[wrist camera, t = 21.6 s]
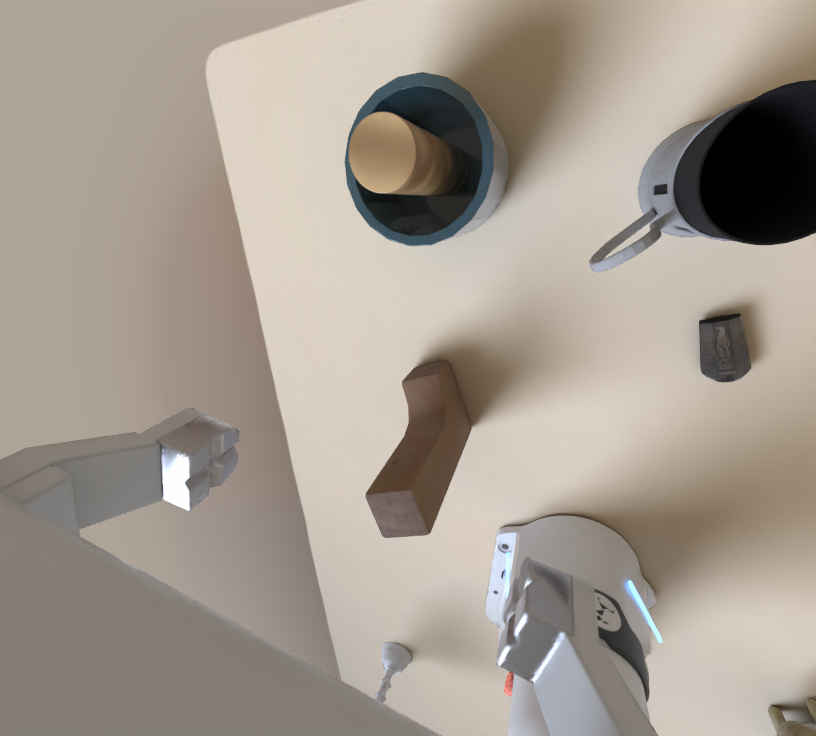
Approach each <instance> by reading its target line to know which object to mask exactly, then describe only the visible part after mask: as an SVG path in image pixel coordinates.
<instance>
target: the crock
mask: <svg viewBox="0 0 816 736" xmlns="http://www.w3.org/2000/svg"><path fill="white" fill-rule="evenodd" d="M376 112H390V113H393V114H395V115H397V116H399V117H401V118H403V119H405V120H407V121H409V122H411V123H412V124H414V125H416V126H418V127H420V128H422V129H424V130H426V131H428V132H429V133H431V134H433V135H435V136H437V137H439V138H441V139H443V140H444V141H446V142H448V143H450V144H452V145H454V146H456V147H458V148H459V149H460V150H461V151H463V153H464V154H465V156H466V158H467V160H468V164H469V174H468V178H467V181H466V183H465V185H464V186H463V188H462V189H461V190H460V191H459V192H457V193H456V194H454V195H451V196H446V197H444V196H424V195H404V194H385V193H375V192H372V191H370V190H368V189H366V188H365V187H364V186H362V185H361V184H360V183H359V181H358V180H357V179H356V177H355V176H354V174H353V171H352V169H351V166H350V162H349V144H350V140H351V136H352V134H353V132H354V130H355V128H356V127H357V125H358V124H359V123H360V122H361V121H362V120H363V119H364V118H365V117H367V116H368V115H370V114H373V113H376ZM345 167H346V176H347V185H348V188H349V191H350V193H351V196H352V198H353V201H354V203H355V206H356V208H357V210H358V211H359V213H360V214H361V215H362V217H363V218H364V219H365V220H366V222H367V223H368V224H369V226H370V227H371V228H373V229H374V230H375V231H377V232H378V233H380V234H381V235H382V236H384V237H385V238H387V239H389V240H391V241H394V242H397V243H401V244H404V245H407V246H423V245H433V244H436V243H439V242H442V241H445V240H448V239H451V238H454V237H457V236H460V235H462V234H465V233H467V232H470V231H472V230H474V229H475V228H477V227H478V226H480V225H481V224H482V223H483V222H485V221H486V220H487V219H488V218H489V217H490V215H491V214H492V213H493V212H494V211H495V209H496V208H497V206H498V205H499V203H500V201H501V199H502V197H503V194H504V191H505V189H506V184H507V180H508V173H509V160H508V152H507V148H506V144H505V142H504V139H503V137H502V134H501V132H500V131H499V129H498V128H497V126H496V125H495V124H494V122H493V121H492V119H491V118H490V117H489V115H488V114H487V113H486V112H485V111H484V109H483V108H482V107H481V106H480V105H479V103H478V102H477V101H476V100H475V99H474V97H473V96H472V95H471V94H470V93H469V92H468V91H467V90H465V89H464V88H462V87H461V86H459V85H458V84H457V83H455V82H454V81H452V80H451V79H449V78H447V77H443V76H438V75H434V74H429V73H424V72H423V73H422V72H421V73H416V74H411V75H405V76H400V77H397V78H395V79H394V80H392V81H390V82H389V83H387V84H386V85H384V86H382V87H381V88H379V89H377V90H376V91H375V92H374V94H373V95H372V96H371V97H370V98H369V100H368V101H367V102H366V103H365V104H364V105H363V107H362V108H361V109H360V111H359V112H358V115H357V117H356V119H355V121H354V124H353V126H352V128H351V131H350V133H349V137H348V143H347V150H346V157H345Z"/></svg>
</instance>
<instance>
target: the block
mask: <svg viewBox="0 0 816 736" xmlns="http://www.w3.org/2000/svg"><path fill="white" fill-rule="evenodd" d="M699 328H700V329H699V331H700V362H701V365H700V366H701V371H702V374H704V375H705V376H706V377H708V378H710V379H713V380H715V381H718V382H732V381H736V380H738V379H740V378H742V377H743V376H744V375H746V373H747V372H748V371H749V370H750V369H751V363H750V358H749V352H748V347H747V343H746V337H745V332H744V326H743V321H742V316H741V314H739V313H738V314H731V315H724V316H720V317H715V318H710V319H706V320H701V321H699Z"/></svg>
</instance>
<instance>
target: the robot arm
mask: <svg viewBox="0 0 816 736" xmlns="http://www.w3.org/2000/svg"><path fill="white" fill-rule="evenodd" d="M238 441H239V431H238V430H237V429H236V428H235V427H233V426H230V425H228V424H226V423H224V422H222V421H220V420H218V419H216V418H213V417H211V416H209V415H206V414H204V413H202V412H200V411H198V410H195V409H193V408H187V409H185V410H183V411H181V412H179V413H178V414H176V415H174V416H172V417H170V418H168V419H166V420H164V421H163V422H161V423H159V424H157V425H155V426H154V427H152V428H150V429H148V430H146V431H144V432H142V433H141V434H138V433H136V432H132V433H125V434H118V435H112V436H104V437H98V438H91V439H84V440H77V441H70V442H64V443H57V444H50V445H44V446H37V447H30V448H25V449H23V450H21V451H19V452H16V453H14V454H12V455H10V456H8V457H5V458H3V459H1V460H0V736H441V735H440V734H438V733H436V732H434V731H432V730H431V729H429V728H427V727H425V726H423V725H421V724H420V723H418V722H416V721H414V720H412V719H410V718H409V717H407V716H405V715H403V714H401V713H400V712H398V711H396V710H394V709H392V708H390V707H389V706H387V705H385V704H383V703H381V702H380V701H378V700H376V699H374V698H372V697H370V696H369V695H367V694H365V693H363V692H361V691H360V690H358V689H356V688H354V687H352V686H350V685H349V684H347V683H345V682H343V681H341V680H340V679H338V678H336V677H334V676H332V675H330V674H329V673H327V672H325V671H323V670H321V669H319V668H317V667H316V666H314V665H312V664H310V663H309V662H307V661H305V660H303V659H301V658H299V657H297V656H296V655H294V654H292V653H290V652H289V651H287V650H285V649H283V648H281V647H279V646H278V645H276V644H274V643H272V642H270V641H269V640H267V639H265V638H263V637H261V636H259V635H257V634H256V633H254V632H252V631H250V630H248V629H246V628H245V627H243V626H241V625H239V624H238V623H236V622H234V621H232V620H230V619H229V618H226V617H225V616H223V615H221V614H219V613H218V612H216V611H214V610H212V609H210V608H209V607H207V606H205V605H203V604H201V603H199V602H198V601H196V600H194V599H192V598H190V597H188V596H187V595H185V594H183V593H181V592H180V591H178V590H176V589H174V588H172V587H170V586H168V585H167V584H165V583H163V582H161V581H160V580H158V579H156V578H154V577H152V576H151V575H148V574H147V573H145V572H143V571H141V570H140V569H138V568H136V567H134V566H132V565H130V564H129V563H126V562H125V561H123V560H121V559H120V558H118V557H116V556H114V555H112V554H111V553H109V552H107V551H105V550H103V549H101V548H100V547H97V546H96V545H94V544H92V543H90V542H89V541H87V540H85V539H83V538H81V537H80V532H79V529H81V528H84V527H87V526H90V525H93V524H96V523H99V522H101V521H104V520H107V519H110V518H113V517H116V516H119V515H121V514H124V513H127V512H130V511H133V510H136V509H139V508H141V507H144V506H147V505H150V504H153V503H156V502H159V501H161V500H162V499H164V500H166V501H169V502H171V503H173V504H175V505H177V506H179V507H182V508H184V509H186V510H188V511H190V510H191V509H192V508H194V507H195V506H196V505H197V504H198V503H200V502H201V501H202V500H203V499H205V498H206V497H207V496H208V495H209V490H210V488H211V487H215V486H219V485H221V484H223V483H224V482H225V481H226V480H227V479H228V478H229V477H230V475H231V474H232V472H233V471H234V469H235V467H236V464H237V460H238V453H237V451H236V449H235V447H234V445H235V444H236V443H237V442H238ZM504 544H507V545H504ZM655 603H656V599H655V593H654V591H653V589H652V588H651V586H650V585H649V584H648V583H647V581H646V580H645V579H644V578H643V576H642V574H641V570H640V566H639V562H638V559H637V556H636V554H635V552H634V551H633V549H632V548H631V546H630V545H629V544H628V543H627V542H626V540H624V539H623V538H622V537H621V536H620V535H619V534H618V533H616V532H615V531H613V530H612V529H610V528H608V527H607V526H605V525H603V524H601V523H598V522H596V521H593V520H590V519H587V518H583V517H577V516H568V515H558V516H550V517H545V518H541V519H538V520H536V521H534V522H531V523H529V524H527V525H523V526H510V527H503V528H500V529H499V530H498V532H497V537H496V543H495V549H494V555H493V562H492V568H491V574H490V580H489V586H488V593H487V599H486V607H485V613H486V615H487V616H488V618H489V619H490V620H491V621H492V622H493V623H494V624H495V625H497V626H498V627H499V635H498V643H499V648H498V656H497V665H499V666H500V667H502V668H504V669H506V670H508V671H510V672H509V674H508V675H507V678H506V682H505V689H504V691H505V694H507V695H509V696H512V699H511V709H510V719H509V728H508V736H658V735H657V733H656V731H655V730H654V728H653V726H652V725H651V723H650V718H649V713H648V708H647V702H648V698H649V674H648V668H647V664H646V660H645V658H646V656H647V655H650V654H651V651H652V643H651V633H650V626H651V628H652V630H653V632H654V634H655V636H656V637H657V639H658V641H659V643H661V642H662V639H661V636H660V634H659V632H658V630H657V628H656V626H655V625H654V623H653V621H652V619H651V617H650V615H649V613H648V610H649V609H650V608H651V607H653V606H654V605H655Z"/></svg>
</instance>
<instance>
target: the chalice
mask: <svg viewBox="0 0 816 736" xmlns="http://www.w3.org/2000/svg"><path fill="white" fill-rule="evenodd" d="M410 662H411V655H410V653H409V652H408V651H407V650H406V649H405V648H404V647H403V646H401V645H399V644H397V643H393V642H387V643H385V644H384V645H383V646H382V664H383V667H384V669H385V670H386V675H385V677H384V679H383V680H381V681H380V685H381V687H380V690H379V692H378V693H376V700H378V701H380V702H381V703H383V702H384V701H385V700H386V697H385V695H386V691H387V689H389V688H390V687H391V684H390V680H391V677H392V675H394V674H399V673H401V672H402V671H403V669H405V668H406V667H407V665H408V664H409V663H410Z"/></svg>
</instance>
